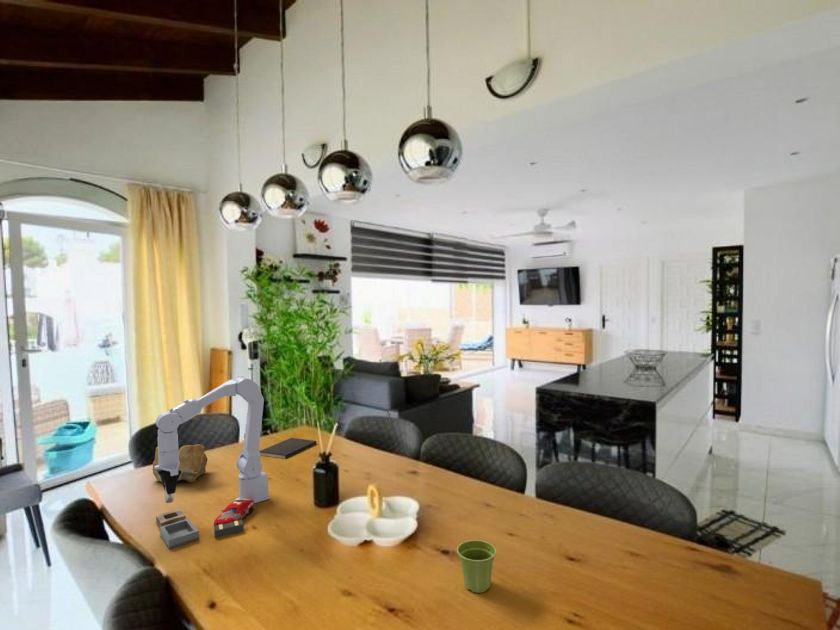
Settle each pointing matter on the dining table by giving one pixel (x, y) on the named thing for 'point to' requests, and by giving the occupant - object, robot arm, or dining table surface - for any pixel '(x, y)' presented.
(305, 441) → the hardcover book
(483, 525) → the dining table surface
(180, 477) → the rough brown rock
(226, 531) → the wheel stop
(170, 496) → the pin
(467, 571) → the plant pot
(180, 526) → the tray
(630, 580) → the dining table surface
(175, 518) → the pin holder
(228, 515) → the race car
